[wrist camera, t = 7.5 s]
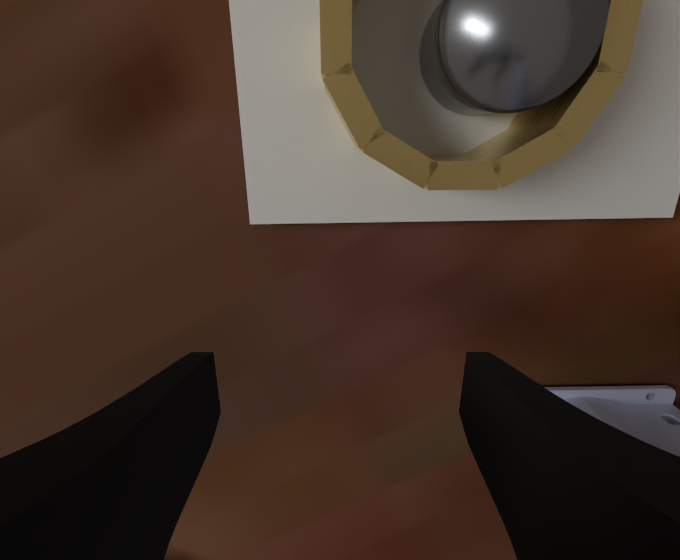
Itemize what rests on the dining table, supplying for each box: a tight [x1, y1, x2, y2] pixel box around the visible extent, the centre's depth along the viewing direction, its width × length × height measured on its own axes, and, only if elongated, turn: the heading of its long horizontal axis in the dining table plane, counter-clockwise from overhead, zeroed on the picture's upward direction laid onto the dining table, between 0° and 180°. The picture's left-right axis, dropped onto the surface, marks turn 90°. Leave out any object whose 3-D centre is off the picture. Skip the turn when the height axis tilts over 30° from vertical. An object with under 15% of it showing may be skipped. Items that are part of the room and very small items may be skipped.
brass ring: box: [319, 0, 643, 190], centre depth 14 cm, size 10×10×4 cm
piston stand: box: [229, 0, 680, 224], centre depth 14 cm, size 20×14×6 cm
